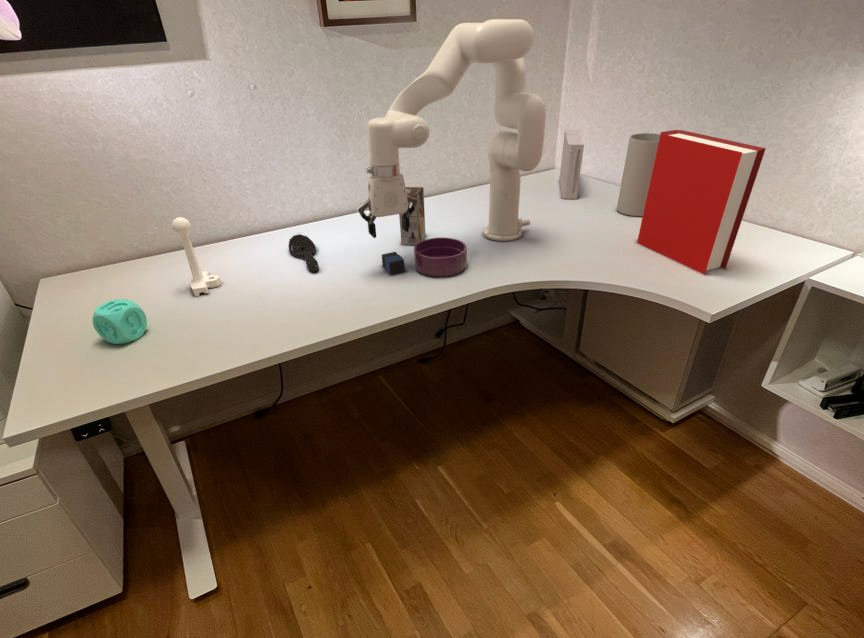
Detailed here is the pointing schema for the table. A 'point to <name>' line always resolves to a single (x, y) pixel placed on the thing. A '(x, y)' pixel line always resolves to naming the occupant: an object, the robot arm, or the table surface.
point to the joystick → (194, 260)
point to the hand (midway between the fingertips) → (389, 233)
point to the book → (698, 197)
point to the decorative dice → (119, 321)
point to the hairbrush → (304, 251)
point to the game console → (571, 164)
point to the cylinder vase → (637, 173)
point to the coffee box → (414, 218)
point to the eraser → (393, 263)
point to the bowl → (440, 257)
